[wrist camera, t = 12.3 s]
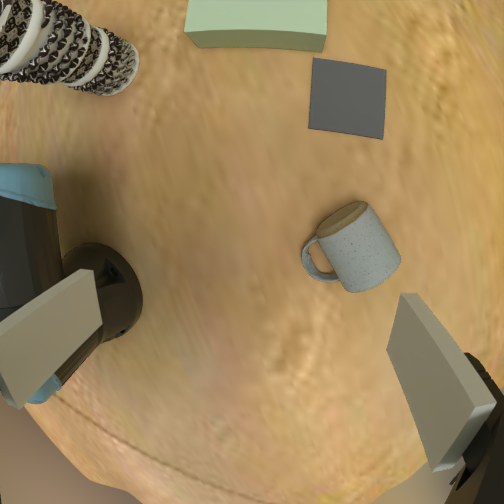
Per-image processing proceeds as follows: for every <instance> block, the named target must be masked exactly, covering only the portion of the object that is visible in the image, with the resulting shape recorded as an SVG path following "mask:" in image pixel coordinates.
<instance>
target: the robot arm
mask: <svg viewBox="0 0 504 504" xmlns="http://www.w3.org/2000/svg"><path fill="white" fill-rule="evenodd" d="M56 210H57V205H56V204H55V199H54V191H53V180H52V176H51V173H50V172H49V170H48V169H47V168H46V167H44V166H41V165H38V164H21V163H0V391H1V393H2V395H3V397H4V399H5V401H6V403H8V404H9V405H11V406H13V407H15V408H16V409H18V410H20V409H21V408H22V407H23V406H24V405H25V403H26V402H28V403H31V404H41V403H44V402H45V401H47V400H48V399H49V398H50V397H51V396H52V395H53V394H54V393H55V392H56V391H58V390H60V389H61V388H62V386H63V385H64V384H65V383H66V381H67V380H68V379H69V378H70V377H71V376H72V374H73V373H74V372H75V371H76V370H77V369H78V368H79V366H80V365H81V364H82V363H83V362H84V361H85V360H86V358H87V357H88V356H89V355H90V354H91V353H92V352H93V351H94V349H95V348H96V347H97V346H98V345H99V344H102V343H104V342H107V341H110V340H112V339H114V338H117V337H120V336H122V335H123V334H125V333H126V332H128V331H129V330H130V329H131V327H132V326H133V325H134V324H135V323H136V322H137V320H138V318H139V316H140V314H141V310H142V293H141V288H140V285H139V282H138V280H137V277H136V275H135V273H134V272H133V270H132V268H131V267H130V265H129V264H128V263H127V262H126V260H125V259H124V258H123V257H122V256H121V255H119V254H118V253H117V252H116V251H114V250H113V249H111V248H109V247H107V246H105V245H102V244H98V243H86V244H83V245H80V246H78V247H76V248H74V249H72V250H71V251H70V252H68V253H67V254H66V255H65V256H64V258H63V259H61V253H60V245H59V238H58V229H57V220H56ZM386 350H387V352H388V355H389V357H390V360H391V362H392V364H393V367H394V369H395V372H396V374H397V377H398V379H399V381H400V384H401V387H402V389H403V392H404V394H405V397H406V399H407V402H408V405H409V407H410V410H411V413H412V415H413V418H414V421H415V423H416V426H417V429H418V432H419V435H420V438H421V441H422V443H423V446H424V449H425V452H426V455H427V458H428V461H429V465H430V468H431V471H432V472H435V471H440V470H444V469H448V468H452V467H454V465H455V464H456V463H457V461H458V460H459V459H460V458H461V456H463V458H464V461H465V463H466V464H465V465H464V466H463V468H462V469H461V470H460V471H459V473H458V474H457V475H456V476H455V477H454V478H453V480H452V481H451V482H450V485H452V484H453V483H454V482H455V481H456V482H455V484H454V486H453V488H452V490H451V492H450V494H449V496H448V498H447V500H446V502H445V504H504V395H503V394H502V392H501V391H500V389H499V388H498V386H497V385H496V384H495V382H494V381H493V379H491V376H490V375H489V374H488V372H486V371H485V368H484V367H483V365H482V364H481V363H480V361H479V360H478V359H476V358H475V357H474V356H472V355H471V354H470V353H463V352H462V350H461V349H460V348H459V346H458V345H457V344H456V342H455V341H454V340H453V338H452V337H451V336H450V334H449V333H448V332H447V330H446V329H445V328H444V326H443V325H442V324H441V322H440V321H439V320H438V319H437V317H436V316H435V315H434V314H433V312H432V311H431V310H430V309H429V307H428V306H427V305H426V304H425V302H424V301H423V300H422V299H421V297H420V296H419V295H418V294H417V293H401V294H400V298H399V303H398V307H397V311H396V315H395V319H394V323H393V327H392V331H391V335H390V339H389V342H388V346H387V349H386ZM0 504H1V497H0Z"/></svg>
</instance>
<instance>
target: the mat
mask: <svg viewBox="0 0 504 504" xmlns="http://www.w3.org/2000/svg"><path fill="white" fill-rule="evenodd" d="M385 100H386V70H384V69H379V68H375V67H370V66H364V65H359V64H353V63H348V62H341V61H335V60H327V59H320V58H313V69H312V86H311V102H310V116H309V129H318V130H325V131H333V132H340V133H347V134H353V135H359V136H365V137H371V138H377V139H383V134H384V119H385Z"/></svg>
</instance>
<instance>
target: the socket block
mask: <svg viewBox="0 0 504 504" xmlns="http://www.w3.org/2000/svg"><path fill="white" fill-rule="evenodd" d="M184 33H185V34H186V35H187V36H188V37H189V38H190V39H191V40H192V41H193V42H194V43H195V44H196V45H197V46H198V47H199V48H220V47H253V48H277V49H291V50H303V51H312V52H321V53H322V50H323V46H324V42H325V39H326V34H327V0H189V3H188V9H187V15H186V22H185V28H184Z"/></svg>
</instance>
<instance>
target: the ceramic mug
mask: <svg viewBox="0 0 504 504" xmlns="http://www.w3.org/2000/svg"><path fill="white" fill-rule="evenodd" d="M316 241H318V242H319V244H320V246H321V248H322V250H323V252H324V253H325V255H326V256H327V258H328V259H329V261H330V263H331V265H332V267H333V268H334V270H335V272H336V274H333V275H328V274H324V273H321V272H319V271H318V270H317V269H316V268H315V266H314V264H313V262H312V260H311V258H310V255H309V253H308V249H309V246H311V245H312V244H313V243H315V242H316ZM302 263H303V265H304V267H305V269H306V271H307V272H308V274H309V275H310V276H312V277H313V278H314V279H316V280H319V281H322V282H337V281H341V283H342V285H343V287H344V288H345V290H346V291H348V292H351V293H357V292H362V291H366V290H369V289H371V288H373V287H375V286H377V285H379V284H381V283H382V282H384V281H385V280H386V279H388V278H389V277H390V276H391V275H392V274H393V273H394V272H395V271H396V270H397V268H398V267H399V265H400V263H401V255H400V253H399V252H398V250H397V248H396V247H395V245H394V243H393V241H392V239H391V238H390V236H389V234H388V233H387V231H386V229H385V228H384V226H383V225H382V223H381V221H380V219H379V218H378V216H377V214H376V213H375V211H374V210H373V209H372V208H371V207H370V205H369V204H368V203H366V202H364V201H356V202H353V203H351V204H349V205H347V206H345V207H343V208H341V209H340V210H338V211H337V212H335V213H333V214H332V215H331V216H329V217H328V218H327V219H326V220H324V221H323V222H322V223H321V224H320V225H319V227H318V228H317V232H316V236H314V237H313V238H312V239H311V240H310V241H308V243H307V244H306V245H305V247H304V249H303V252H302Z"/></svg>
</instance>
